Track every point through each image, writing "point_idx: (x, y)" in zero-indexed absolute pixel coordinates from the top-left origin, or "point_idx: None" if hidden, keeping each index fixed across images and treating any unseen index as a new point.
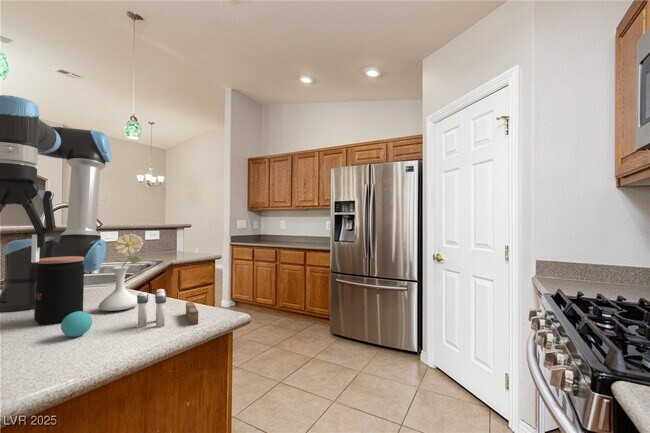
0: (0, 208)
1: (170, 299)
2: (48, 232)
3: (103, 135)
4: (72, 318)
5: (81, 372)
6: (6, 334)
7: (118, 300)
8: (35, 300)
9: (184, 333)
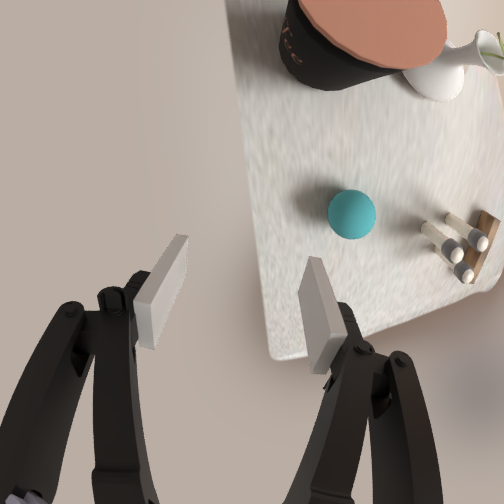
0: (148, 475)
1: (496, 82)
2: (376, 359)
3: None
4: (347, 236)
5: None
6: (239, 101)
7: (436, 88)
8: (284, 45)
9: (436, 298)
